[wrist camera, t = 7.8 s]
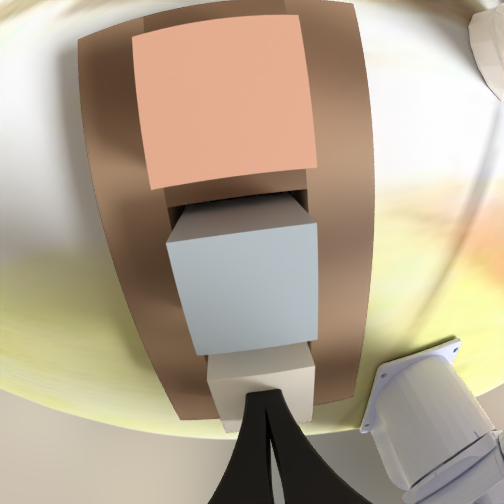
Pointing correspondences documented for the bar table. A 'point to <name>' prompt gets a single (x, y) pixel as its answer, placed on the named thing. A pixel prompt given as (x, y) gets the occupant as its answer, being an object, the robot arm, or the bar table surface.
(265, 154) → the salmon orange cube
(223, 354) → the off-white cube
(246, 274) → the light blue cube
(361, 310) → the wooden tray
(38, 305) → the bar table surface
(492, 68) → the white cup
